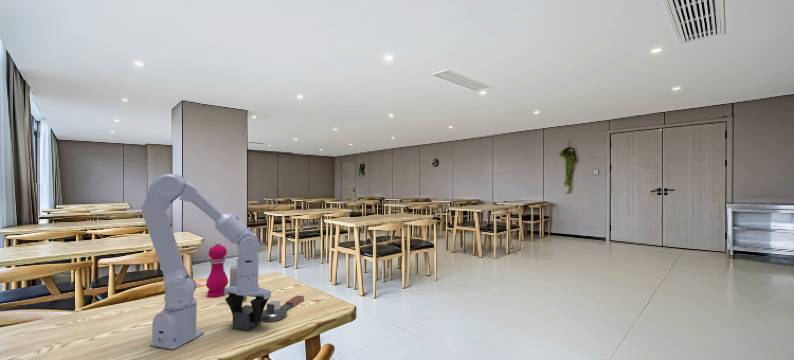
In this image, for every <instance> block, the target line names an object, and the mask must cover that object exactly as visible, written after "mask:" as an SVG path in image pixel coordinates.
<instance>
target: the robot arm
mask: <svg viewBox="0 0 794 360" xmlns="http://www.w3.org/2000/svg"><path fill="white" fill-rule="evenodd" d="M178 198H179V199H178ZM176 199H178V200H180V201H184V202H188V203H192V204H193V205H195V206H196V207H197V208H198V209H199V210H201V211H202V212H203V213H204V214H205V215H206V216H208V217H209V218H210V219H211V220H212V221H214V222H215V225H214V228H215V229H214V230H216V231H217V232H218V233H220V234H221V235H222V236H223V237H224V238H226V239H227V240H228V241H229V242H230V243H232V244H235V245H236V249H237V251H238V252H237V253H238V254H237V255H238V257H237V259H236V265H237V286H230V285H229V286H226V287H225V295H226V297H225V298H224V299H225V302H226V304H227V305H228V307H229V309H230V312H231V314H232V316H233V311H235V310H237V309H239V308H241V307H243V303H244V301H243V298H244V296H246V297H250V298H251V297H252V298H254V299H252V300H250V304H251V305H250V306H252V309H253V322H254V324H257V323H258V322H260V321H261V316H262V313H263V310H265V307H266V306H267V303H268V301H269V300H270V298H271V297H272V290H270V289H265V288H262V287H260V285H259V261H260V260H259V257H258V256H259V249H260V247H261V243H260V240H259V238H258V236H257V235H256V234H255V232H254V231H252V228H250V227H247V226H246V225H245V224H244V223H242V222H241V221H240V217H239V216H238V215H237V214H236V215H234V214H233V213H225V212H223V211H222V210H221V209H220V208H219V207H218V206H217V205H216V204H215V203H214V202H213V201H211V199H209V197H207V196H206V195H205V194H204V193H203V192H202V191H201V190H200V189H199V188H198V187H196V186H195V185H193V184H192V183H191V182H189V181H186V179H184V177H182V176H181V175H178V174H172V173H165V174H160V175H159V176H158V177H156V179H154V181H153V182H152V183H151V184H150V185H149V186H148V191H147V193H146V197H145V199H144V202H143V204H142V206H141V213H142V216H143V220H144V222H145V225H146V228H147V231H148V234H149V237H150V240H151V243H152V245H153V248H154V251H155V255H156V256H157V260H158V262H159V263H158V264H159V265H160V268H161V271H162V274H163V287H164V290H165V294H164V297H163V299H164V302H165V304H164V308H163V309H162V310H161V311H160V312H158V313H157V314H156V315H154V317H153V319H152V325H151V326H152V327H151V328H152V329H151V330H152V331H151V332H152V333H151V335H152V336H151V342H150V343H149V346H151V347H158V348H162V349H168V350H169V349H170V350H175V349H177V348H179V347H181V346H182V345H185V344H187V343H189V342H190V341H192V340H195V339H196V338H198V337H199V336H201V335H203V334H205V331H204V330H197V318H198V317H197V313H198V311H197V310H198V308H197V307H198V305H197V304H198V300H197V299H196V298H195V297H194V296H195V295H194V293H195V291H196V289H197V282H196V280H195V279H194V278H193V277H192V276H191V275H190V274H189V273H190V272H189V271H188V269H187V267H186V266H185V265H184V262H183V258H182V255H181V253H180V252H181V251H180V249H179V246H178V243H177V241H176V237H175V235H174V231H173V228H172V226H171V222H170V219H169V217H168V214H167V211H168V209H169V208H170V207H171V205H172V204H173V203H174V201H175V200H176ZM225 295H224V296H225ZM227 295H228V296H227ZM261 322H262V321H261Z"/></svg>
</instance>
